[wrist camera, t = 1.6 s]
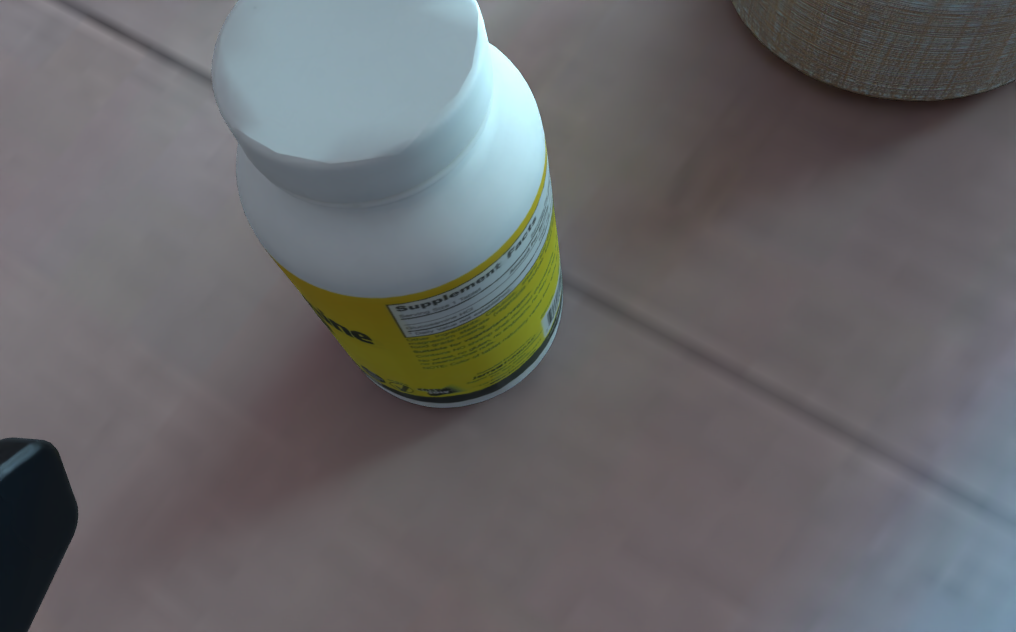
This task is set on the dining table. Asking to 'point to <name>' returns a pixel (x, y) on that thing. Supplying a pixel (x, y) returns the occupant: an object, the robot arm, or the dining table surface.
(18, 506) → the robot arm
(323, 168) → the pill bottle
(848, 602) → the dining table surface
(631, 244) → the dining table surface
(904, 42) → the planter
